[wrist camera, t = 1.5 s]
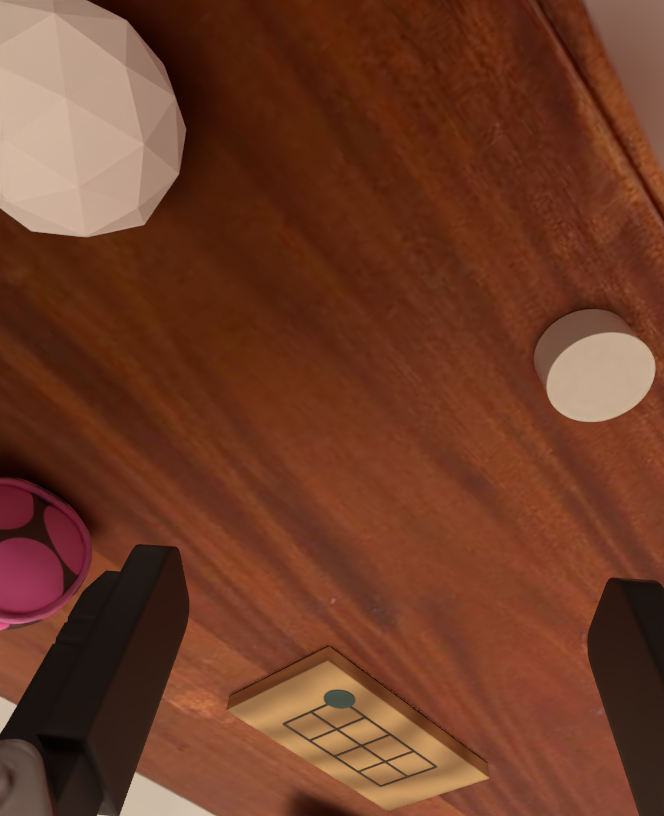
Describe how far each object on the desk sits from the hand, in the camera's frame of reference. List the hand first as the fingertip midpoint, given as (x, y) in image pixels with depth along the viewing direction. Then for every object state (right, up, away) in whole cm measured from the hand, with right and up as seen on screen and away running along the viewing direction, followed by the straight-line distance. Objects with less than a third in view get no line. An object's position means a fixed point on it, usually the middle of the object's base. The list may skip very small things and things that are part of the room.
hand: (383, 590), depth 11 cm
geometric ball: (-10, +16, +13) cm, 22 cm away
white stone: (+11, +6, +17) cm, 21 cm away
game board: (+2, -23, +36) cm, 43 cm away
